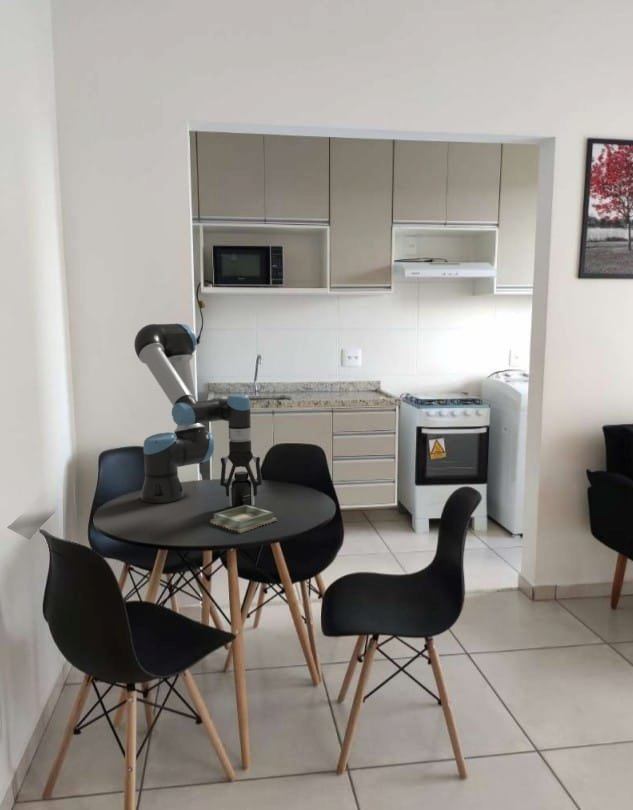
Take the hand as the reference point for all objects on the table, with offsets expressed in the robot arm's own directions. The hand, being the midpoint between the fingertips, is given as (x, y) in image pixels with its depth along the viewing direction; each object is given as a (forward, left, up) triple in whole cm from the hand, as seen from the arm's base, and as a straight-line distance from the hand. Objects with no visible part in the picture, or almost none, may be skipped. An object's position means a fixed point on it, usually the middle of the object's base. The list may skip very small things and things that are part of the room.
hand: (242, 504), depth 215 cm
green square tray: (+14, -11, -1) cm, 18 cm away
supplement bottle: (0, 0, -1) cm, 1 cm away
